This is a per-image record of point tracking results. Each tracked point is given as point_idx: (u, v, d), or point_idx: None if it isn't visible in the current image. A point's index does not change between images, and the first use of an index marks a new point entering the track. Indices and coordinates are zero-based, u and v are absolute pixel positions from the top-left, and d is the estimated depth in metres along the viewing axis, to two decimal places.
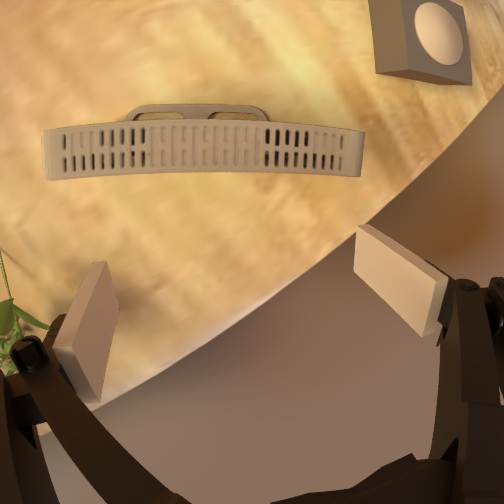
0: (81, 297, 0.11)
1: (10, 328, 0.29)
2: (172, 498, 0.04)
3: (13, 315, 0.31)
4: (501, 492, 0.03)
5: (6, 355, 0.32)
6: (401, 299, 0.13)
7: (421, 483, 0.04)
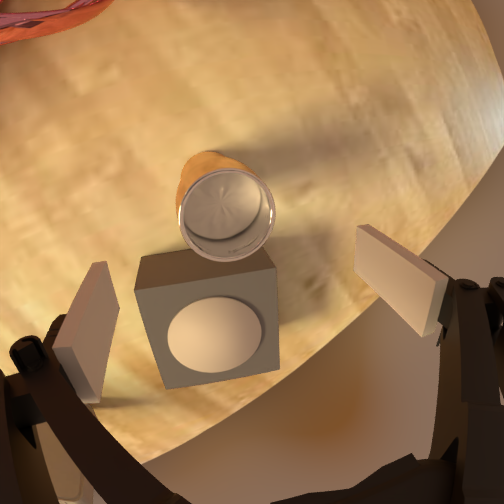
0: (81, 297, 0.11)
1: None
2: (172, 498, 0.04)
3: None
4: (501, 492, 0.03)
5: None
6: (401, 299, 0.13)
7: (421, 483, 0.04)
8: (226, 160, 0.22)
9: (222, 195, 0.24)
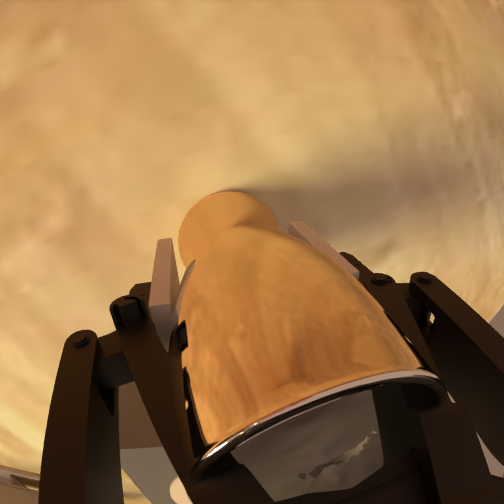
0: (160, 266, 0.13)
1: None
2: (236, 467, 0.05)
3: None
4: (483, 491, 0.03)
5: None
6: None
7: (421, 483, 0.04)
8: (324, 290, 0.07)
9: None
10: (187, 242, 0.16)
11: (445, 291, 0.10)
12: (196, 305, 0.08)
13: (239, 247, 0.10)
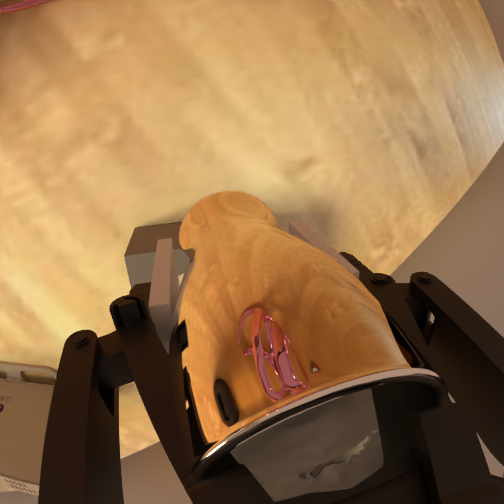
0: (160, 266, 0.13)
1: None
2: (236, 467, 0.05)
3: None
4: (483, 491, 0.03)
5: None
6: None
7: (421, 483, 0.04)
8: (324, 289, 0.07)
9: None
10: (187, 241, 0.16)
11: (445, 292, 0.10)
12: (197, 304, 0.08)
13: (239, 246, 0.10)
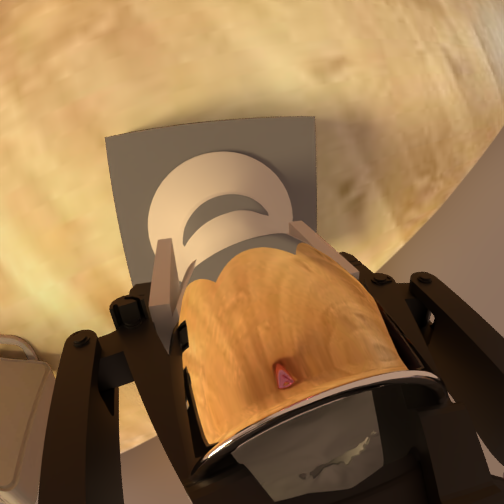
0: (160, 266, 0.13)
1: None
2: (236, 467, 0.05)
3: None
4: (483, 491, 0.03)
5: None
6: None
7: (421, 483, 0.04)
8: (324, 291, 0.07)
9: None
10: (187, 242, 0.16)
11: (445, 291, 0.10)
12: (197, 305, 0.08)
13: (240, 247, 0.10)
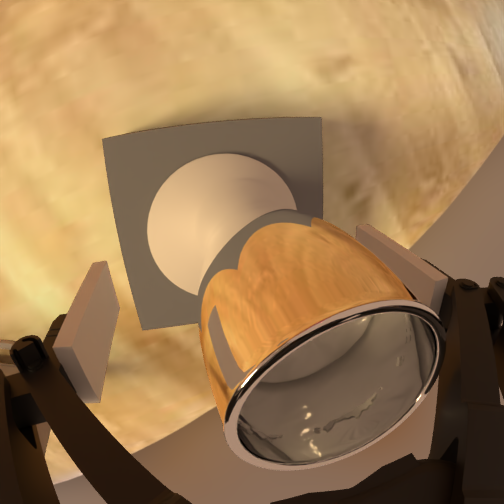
0: (81, 297, 0.11)
1: None
2: (172, 498, 0.04)
3: None
4: (501, 492, 0.03)
5: None
6: None
7: (421, 483, 0.04)
8: (340, 245, 0.09)
9: None
10: (205, 223, 0.18)
11: None
12: (230, 262, 0.10)
13: (263, 218, 0.11)
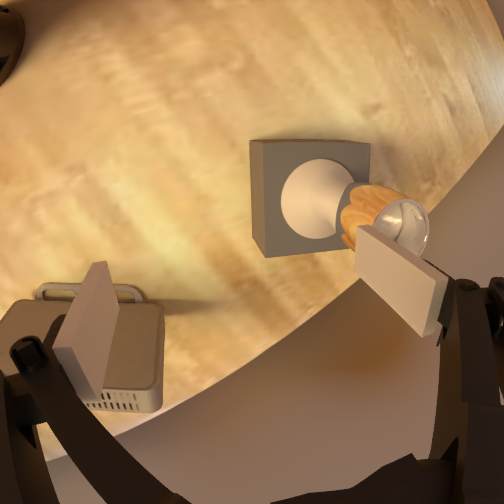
0: (81, 297, 0.11)
1: None
2: (172, 498, 0.04)
3: None
4: (501, 492, 0.03)
5: None
6: (401, 299, 0.13)
7: (421, 483, 0.04)
8: (393, 190, 0.26)
9: (379, 217, 0.28)
10: (319, 192, 0.35)
11: None
12: (358, 195, 0.27)
13: (363, 184, 0.29)
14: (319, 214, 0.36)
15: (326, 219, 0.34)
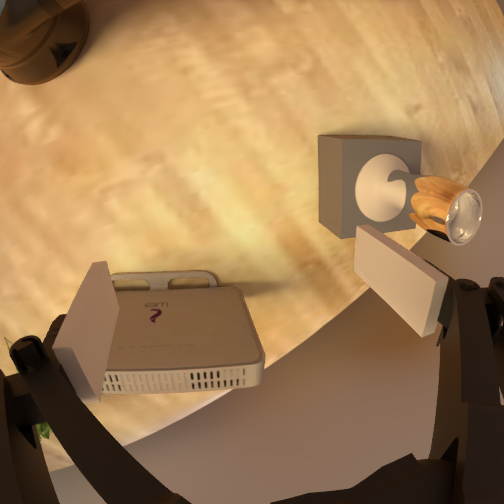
0: (81, 297, 0.11)
1: None
2: (172, 498, 0.04)
3: None
4: (501, 492, 0.03)
5: None
6: (401, 299, 0.13)
7: (421, 483, 0.04)
8: (456, 182, 0.30)
9: None
10: (389, 182, 0.39)
11: None
12: (431, 185, 0.31)
13: (431, 176, 0.33)
14: (388, 200, 0.40)
15: (396, 204, 0.39)
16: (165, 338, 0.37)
